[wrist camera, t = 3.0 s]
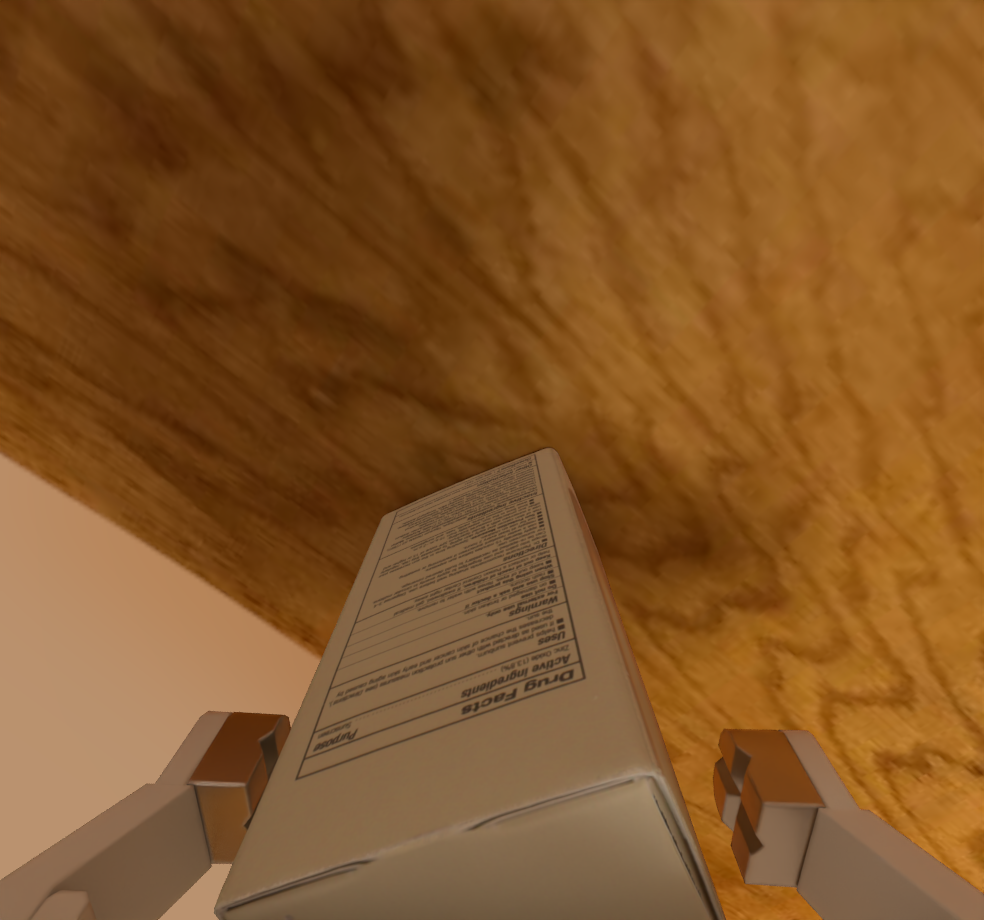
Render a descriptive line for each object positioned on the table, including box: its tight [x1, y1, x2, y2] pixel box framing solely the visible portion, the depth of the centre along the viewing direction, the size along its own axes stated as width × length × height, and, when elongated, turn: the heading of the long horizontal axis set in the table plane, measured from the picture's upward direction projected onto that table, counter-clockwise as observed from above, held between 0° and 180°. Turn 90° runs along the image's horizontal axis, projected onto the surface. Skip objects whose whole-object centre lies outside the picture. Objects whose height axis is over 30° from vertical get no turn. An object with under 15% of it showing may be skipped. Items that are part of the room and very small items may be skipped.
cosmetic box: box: [214, 448, 726, 920], centre depth 13 cm, size 6×4×12 cm
